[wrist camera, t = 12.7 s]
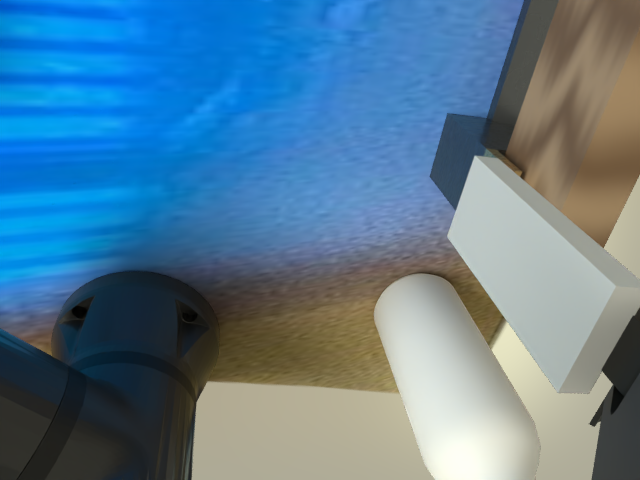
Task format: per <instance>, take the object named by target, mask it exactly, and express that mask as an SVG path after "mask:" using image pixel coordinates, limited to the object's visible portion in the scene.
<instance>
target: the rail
mask: <svg viewBox="0 0 640 480" xmlns="http://www.w3.org/2000/svg"><path fill="white" fill-rule="evenodd" d="M505 157H506V158H507V159H508V160H509V161H510V162H511V163H513V164H514V165H515V166H516V167H517V168H518V169H519V170H521V171H522V174H521V176H520V177H521V178H522V179H523V180H524V181H525V182H526V183H528V184H529V185H530V186H531V187H532V188H533V189H535V190H536V191H537V192H538V193H539V194H540V195H542V196H543V197H544V198H545V199H546V200H547V201H549V202H550V203H551V204H552V205H553V206H554V207H556V208H557V209H558V210H559V211H560V212H561V213H563V214H564V215H565V216H566V217H567V218H568V219H570V220H571V221H572V222H573V223H574V224H575V225H577V226H578V227H579V228H580V229H581V230H582V231H584V232H585V233H586V234H587V235H588V236H589V237H591V238H592V239H593V240H594V241H595V242H596V243H598V244H599V245H600V246H601V247H602V248H604V246H605V244H606V242H607V240H608V238H609V236H610V234H611V232H612V230H613V228H614V226H615V224H616V222H617V219H618V218H619V216H620V214H621V212H622V209H623V208H624V206H625V204H626V201H627V199H628V197H629V195H630V193H631V191H632V189H633V187H634V185H635V183H636V181H637V179H638V177H639V175H640V0H559V1H558V4H557V7H556V10H555V13H554V16H553V19H552V21H551V24H550V27H549V30H548V33H547V36H546V39H545V42H544V44H543V47H542V50H541V53H540V56H539V59H538V62H537V64H536V67H535V70H534V73H533V76H532V79H531V82H530V85H529V87H528V90H527V93H526V96H525V99H524V102H523V105H522V107H521V110H520V113H519V116H518V119H517V122H516V125H515V127H514V130H513V133H512V136H511V139H510V142H509V145H508V148H507V150H506V153H505Z"/></svg>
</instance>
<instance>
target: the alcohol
mask: <svg viewBox="0 0 640 480" xmlns="http://www.w3.org/2000/svg"><path fill="white" fill-rule="evenodd" d="M374 321H375V324H376V327H377V330H378V333H379V336H380V338H381V341H382V344H383V347H384V350H385V353H386V355H387V358H388V361H389V364H390V367H391V370H392V373H393V375H394V378H395V381H396V384H397V387H398V390H399V393H400V395H401V398H402V401H403V404H404V407H405V410H406V412H407V415H408V418H409V421H410V424H411V426H412V429H413V432H414V435H415V438H416V441H417V444H418V446H419V449H420V452H421V455H422V458H423V461H424V463H425V466H426V467H427V469H428V470H429V472H430V474H431V475H432V476H433V478H434V479H435V480H536V477H535V475H536V471H537V468H538V464H539V456H540V447H541V446H540V441H539V437H538V434H537V431H536V427H535V424H534V421H533V419H532V417H531V416H530V414H529V412H528V411H527V409H526V407H525V406H524V404H523V402H522V401H521V399H520V397H519V396H518V394H517V392H516V391H515V389H514V387H513V386H512V384H511V382H510V381H509V379H508V377H507V376H506V374H505V372H504V371H503V369H502V367H501V366H500V364H499V362H498V361H497V359H496V357H495V356H494V354H493V352H492V351H491V349H490V347H489V346H488V344H487V342H486V341H485V339H484V337H483V336H482V334H481V332H480V331H479V329H478V327H477V326H476V324H475V322H474V321H473V319H472V317H471V316H470V314H469V312H468V311H467V309H466V307H465V306H464V304H463V302H462V301H461V299H460V297H459V295H458V294H457V292H456V290H455V289H454V287H453V286H452V285H451V284H450V283H449V282H448V281H447V280H445V279H444V278H442V277H439V276H436V275H431V274H424V273H416V274H411V275H407V276H404V277H401V278H399V279H397V280H396V281H394V282H393V283H391V284H390V285H389V286H388V287H387V288H386V289H385V290H384V291H383V293H382V294H381V296H380V298H379V299H378V301H377V303H376V306H375V310H374Z"/></svg>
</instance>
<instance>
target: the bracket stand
mask: <svg viewBox="0 0 640 480" xmlns="http://www.w3.org/2000/svg"><path fill="white" fill-rule="evenodd" d="M558 1H559V0H524V3H523V6H522V9H521V12H520V16H519V19H518V22H517V25H516V28H515V31H514V34H513V38H512V41H511V44H510V47H509V50H508V53H507V56H506V59H505V63H504V66H503V69H502V72H501V75H500V78H499V81H498V85H497V88H496V91H495V94H494V97H493V100H492V103H491V106H490V110H489V113H488V116H487V118H482V117H473V116H465V115H456V114H448V113H447V117H446V121H445V124H444V128H443V131H442V135H441V138H440V142H439V146H438V149H437V153H436V156H435V160H434V163H433V167H432V171H431V174H430V178H431V179H432V180H433V182H434V183H435V184H436V185H437V187H438V188H439V189H440V191H441V192H442V193H443V195H444V196H445V197H446V199H447V200H448V201H449V202H450V204H451V205H452V206H453V208H454V209H455V210H456V209H457V206H458V203H459V200H460V197H461V195H462V192H463V189H464V186H465V183H466V180H467V177H468V174H469V171H470V168H471V165H472V162H473V159H474V156H483V157H491V158H498V159H499V160H501V161H502V162H503V163H504V164H505V165H507V166H508V167H509V168H510V169H511V170H512V171H514V172H515V173H516V174H517V175H518V176H519V177H520V176H521V174H522V171H521V170H519V169H518V168H517V167H516V166H515V165H514V164H513V163H511V162H510V161H509V160H508V159H507V158H506V157H505V153H506V150H507V148H508V145H509V142H510V139H511V136H512V133H513V130H514V127H515V125H516V122H517V119H518V116H519V113H520V110H521V107H522V105H523V102H524V99H525V96H526V93H527V90H528V87H529V85H530V82H531V79H532V76H533V73H534V70H535V67H536V64H537V62H538V59H539V56H540V53H541V50H542V47H543V44H544V42H545V39H546V36H547V33H548V30H549V27H550V24H551V21H552V19H553V16H554V13H555V10H556V7H557V4H558Z"/></svg>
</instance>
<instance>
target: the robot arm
mask: <svg viewBox="0 0 640 480" xmlns="http://www.w3.org/2000/svg"><path fill="white" fill-rule="evenodd" d="M447 237H448V238H449V240H450V241H451V243H452V244H453V246H454V247H455V248H456V250H457V251H458V253H459V254H460V255H461V257H462V258H463V260H464V261H465V263H466V264H467V265H468V267H469V268H470V270H471V271H472V272H473V274H474V275H475V277H476V278H477V279H478V281H479V282H480V284H481V285H482V287H483V288H484V289H485V291H486V292H487V294H488V295H489V296H490V298H491V299H492V301H493V302H494V303H495V305H496V306H497V308H498V309H499V311H500V312H501V313H502V315H503V316H504V318H505V319H506V320H507V322H508V323H509V325H510V326H511V327H512V329H513V330H514V332H515V333H516V335H517V336H518V337H519V339H520V340H521V342H522V343H523V344H524V346H525V347H526V349H527V350H528V351H529V353H530V354H531V356H532V357H533V358H534V360H535V361H536V363H537V364H538V366H539V367H540V368H541V370H542V371H543V373H544V374H545V375H546V377H547V378H548V380H549V381H550V383H551V384H552V385H553V387H554V388H555V389H556V391H557V392H558V393H584V394H586V393H587V394H589V393H590V391H591V389H592V388H593V386H594V384H595V383H596V381H597V379H598V377H599V376H600V374H601V372H602V371H603V373H604V374H605V375H606V376H607V377H608V379H609V380H610V381H611V382H612V383H613V386H612V387H611V389H610V391H609V392H608V394H607V396H606V397H605V399H604V400H603V402H602V404H601V405H600V407H599V409H598V410H597V412H596V414H595V415H594V417H593V419H592V420H591V422H590V425H592V426H596V424H597V423H598V422H600V421H601V424H600V430H599V437H598V444H597V449H596V455H595V462H594V468H593V474H592V480H640V279H638V278H637V277H636V276H635V275H634V274H633V273H631V272H630V271H629V270H628V269H627V268H626V267H624V266H623V265H622V264H621V263H620V262H618V261H617V260H616V259H615V258H614V257H612V255H610V254H609V253H608V252H607V251H606V250H605V249H603V248H602V247H601V246H600V245H599V244H598V243H596V242H595V241H594V240H593V239H592V238H591V237H589V236H588V235H587V234H586V233H585V232H584V231H582V230H581V229H580V228H579V227H578V226H577V225H575V224H574V223H573V222H572V221H571V220H570V219H568V218H567V217H566V216H565V215H564V214H563V213H561V212H560V211H559V210H558V209H557V208H556V207H554V206H553V205H552V204H551V203H550V202H549V201H547V200H546V199H545V198H544V197H543V196H542V195H540V194H539V193H538V192H537V191H536V190H535V189H533V188H532V187H531V186H530V185H529V184H528V183H526V182H525V181H524V180H523V179H522V178H521V177H519V176H518V175H517V174H516V173H515V172H514V171H512V170H511V169H510V168H509V167H508V166H507V165H505V164H504V163H503V162H502V161H501V160H499V159H498V158H491V157H483V156H474V159H473V162H472V165H471V168H470V171H469V174H468V177H467V180H466V183H465V186H464V189H463V192H462V195H461V197H460V200H459V203H458V206H457V209H456V212H455V215H454V218H453V221H452V224H451V227H450V230H449V233H448V236H447ZM219 335H220V333H219V325H218V321H217V318H216V315H215V313H214V311H213V310H212V308H211V306H210V305H209V304H208V302H207V301H206V300H205V299H204V298H203V297H202V296H201V295H200V294H199V293H198V292H196V291H195V290H194V289H192V288H191V287H189V286H188V285H186V284H184V283H182V282H180V281H178V280H176V279H173V278H170V277H167V276H164V275H160V274H155V273H149V272H137V271H132V272H119V273H113V274H109V275H105V276H102V277H99V278H97V279H94V280H92V281H90V282H88V283H86V284H85V285H83V286H82V287H80V288H79V289H78V290H76V291H75V292H74V293H73V294H72V295H71V296H70V297H69V298H68V300H67V301H66V302H65V304H64V306H63V307H62V310H61V312H60V314H59V316H58V319H57V321H56V323H55V326H54V329H53V333H52V339H51V348H52V356H51V355H49V354H47V353H45V352H43V351H41V350H39V349H37V348H36V347H34V346H32V345H30V344H28V343H26V342H24V341H23V340H21V339H19V338H17V337H15V336H13V335H11V334H9V333H8V332H6V331H4V330H2V329H0V480H191V478H192V463H193V446H194V430H195V416H196V415H195V412H196V402H197V400H198V398H199V396H200V394H201V392H202V391H203V389H204V387H205V385H206V383H207V381H208V379H209V377H210V375H211V373H212V371H213V369H214V367H215V365H216V362H217V358H218V353H219Z"/></svg>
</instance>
